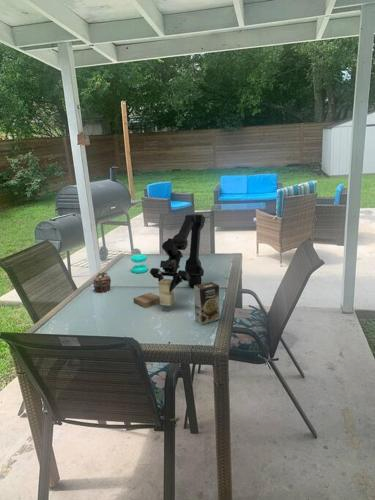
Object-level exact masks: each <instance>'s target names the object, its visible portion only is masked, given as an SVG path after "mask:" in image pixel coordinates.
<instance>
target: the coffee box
mask: <svg viewBox="0 0 375 500" xmlns="http://www.w3.org/2000/svg"><path fill="white" fill-rule="evenodd" d="M193 289H194V291H193V293H194V316H195V317H194V320H195V321H197V322H198V323H199V324H200V325H202V324H203V325H206V323H207V324H209V323H208V322H210V323H213V322H212V321H214V322H216V321H215V320H218V319H220V320H221V317H220V316H221V315H220V285H219V284H217V283H215V282H212V281H210V282H205V283H202V284H199V285H194V288H193ZM218 321H219V320H218Z"/></svg>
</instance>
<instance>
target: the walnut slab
mask: <svg viewBox="0 0 375 500" xmlns="http://www.w3.org/2000/svg"><path fill="white" fill-rule="evenodd" d="M132 299H133V304H135V305H137V306H139V307H141V308H144V309H147V308H149V307H153V306H156V305H157V304H159V305H160V298H159V295H157V294H154V293H152V292H148V293H144V294H141V295H139V296H135V297H133V298H132Z"/></svg>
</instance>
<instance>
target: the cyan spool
mask: <svg viewBox="0 0 375 500" xmlns="http://www.w3.org/2000/svg"><path fill="white" fill-rule="evenodd" d="M147 258H148V257H147V255H146V254H140V253H139V254H134V255H132V256H131V257H130V260H131V262H132V263H134V264H135V263H137V264H135V265H134V266H132V268H131V272H132V273H134V274H143V273H146V272H148V270H149V269H148V266H147V265H146V264H139V263H143V262H146V261H147Z"/></svg>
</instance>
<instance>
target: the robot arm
mask: <svg viewBox="0 0 375 500" xmlns="http://www.w3.org/2000/svg"><path fill="white" fill-rule="evenodd" d="M205 222H206V217H205V216H204V214H202V213H201V214H199V213H196V214H195V213H191V214H186V215H185V216H184V221H183V222H182V225H181V227H180V229H179V231H178V233H177V234H175V235H173V237H172V238H168V239H167V240H165V241H164V242H163V243H162V245H161V247H162V250H163V251H164V253H165V254H166V256H168V259H166V260H160V264H159V268H157V267H152V268H151V269H150V271H149V274H150V275H151V276H152V277H153V278H154V279H157V280H158V282H159V281H161V280H162V279H165V277H172V279H171V280H172V283H171V286H170V290H169V291H170V292H171V291H172V290H173V289H175V288H176V287H177V286H178V285H179V284H180V283H182V282H183V281H184V282H187V285H188V286H189V287H190V288H191V289H192V288H193V289H194V285H199V284H203V283H202V277H204V273H205V270H204V269H203V267H202V262H201V259H200V258H199V255H200V253H199V252H200V241H201V231H202V230H203V228H204V225H205ZM190 232H191V234H190ZM189 234H190V235H189ZM189 236H190V248H189V249H190V250H189V257H188V259H186V260H185V266H184V270H182V269H181V270H178V269H180V267H181V265H180V262H181V258H183V257H184V255H183V253H182V251H185V250H186V249H187V247H188V243H189V241H188V238H189ZM160 268H162V270H161V269H160Z"/></svg>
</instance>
